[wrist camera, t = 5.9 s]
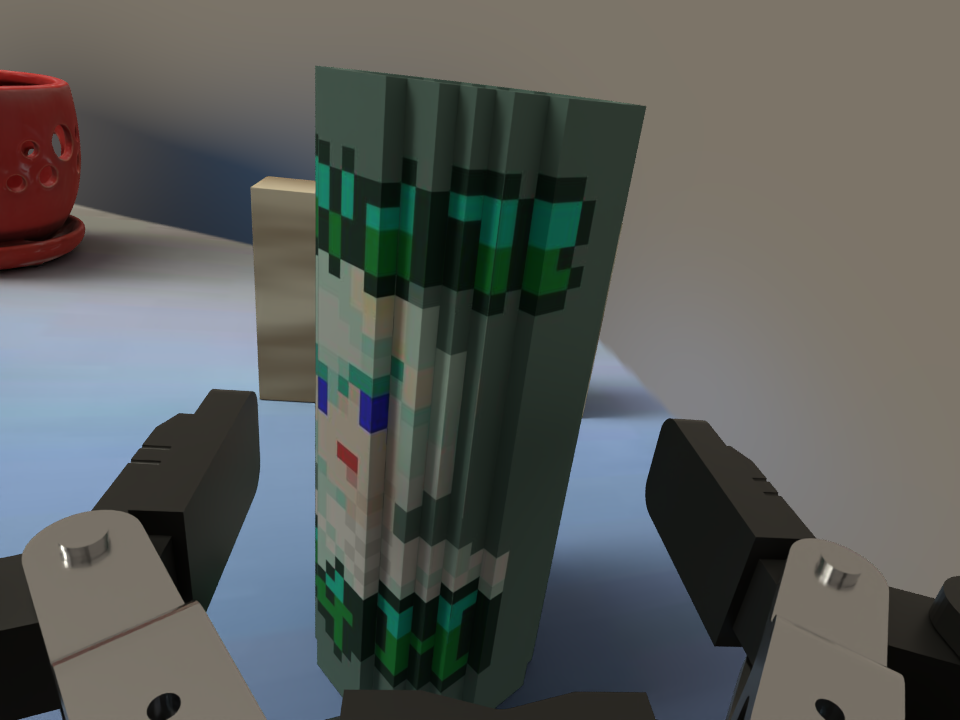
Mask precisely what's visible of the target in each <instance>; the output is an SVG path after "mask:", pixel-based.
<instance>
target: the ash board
mask: <svg viewBox="0 0 960 720" xmlns="http://www.w3.org/2000/svg"><path fill="white" fill-rule="evenodd" d="M251 206H252V226H253V227H252V229H253V252H254V276H255V299H256V322H257V346H258V369H259V393H260V399H266V400H283V401H301V402H315V181H310V180H300V179H290V178H280V177H270V176H267V177H266V178H264V179H263V180H261V181H260V182H258V183H257V184H255V185H253V186H252V187H251ZM622 224H623V223H622ZM621 229H622V226H621ZM620 234H621V231H620ZM619 239H620V235H619ZM618 243H619V240H618ZM617 248H618V245H617ZM616 253H617V250H616ZM615 258H616V255H615ZM614 263H615V260H614ZM613 267H614V264H613ZM612 272H613V269H612ZM611 277H612V274H611ZM610 281H611V279H610ZM609 287H610V284H609ZM608 291H609V289H608ZM607 297H608V293H607ZM606 301H607V298H606ZM605 306H606V303H605ZM604 311H605V308H604ZM603 316H604V313H603ZM602 321H603V318H602ZM601 326H602V322H601ZM600 330H601V327H600ZM599 335H600V332H599ZM598 340H599V337H598ZM597 345H598V342H597ZM596 350H597V347H596ZM595 355H596V351H595ZM594 359H595V356H594ZM593 364H594V361H593ZM592 369H593V366H592ZM591 374H592V371H591ZM590 379H591V376H590ZM589 384H590V380H589ZM588 388H589V385H588ZM587 393H588V390H587ZM586 398H587V395H586ZM585 403H586V400H585ZM584 408H585V404H584ZM583 413H584V409H583ZM582 417H583V414H582Z"/></svg>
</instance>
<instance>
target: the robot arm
mask: <svg viewBox="0 0 960 720" xmlns="http://www.w3.org/2000/svg"><path fill="white" fill-rule="evenodd" d="M259 473H260V448H259V426H258V404H257V397H256V394H255V392H253V391H237V390H221V389H212V390H211V391H210V392H209V393H208V395H207V396H206V398H205V399H204V401H203V402H202V403H201V405H200V406H199V408H198V409H197V411H196V412H195V414H183V413H179V414H177V415H176V416H174V417H172V418H171V419H169V420H167V421H166V422H164V423H162V424H161V425H159V426H157V427H156V428H155V429H154V430H153V432H152V433H151V434H150V436H149V437H148V438H147V439H146V441H145V442H144V443H143V445H142V448H140V449H139V450H138V451H137V452H136V454H135V455H134V456H133V458H132V459H131V463H128V464H127V465H126V467H125V468H124V469H123V470H122V472H121V473H120V474H119V476H118V477H117V478H116V480H115V481H114V482H113V483H112V485H111V486H110V487H109V489H108V490H107V491H106V492H105V494H104V495H103V496H102V498H101V499H100V500H99V501H98V503H97V504H96V505H95V507H94V508H93V509H92V510H91V511H89V512H83V513H79V514H75V515H72V516H69V517H66V518H64V519H61V520H59V521H57V522H55V523H53V524H51V525H50V526H48V527H46V528H45V529H43V530H42V531H40V532H39V533H38V534H37V535H35V536H34V537H33V538H32V539H31V540H30V542H29V543H28V544H27V545H26V547H25V549H24V551H23V554H19V555H15V556H10V557H4V558H0V720H19V719H22V718H26V717H30V716H34V715H38V714H41V713H45V712H49V711H53V710H57V709H60V713H61V716H62V720H267V719H266V717H265V716H264V714H263V712H262V710H261V709H260V707H259V705H258V703H257V702H256V700H255V698H254V696H253V695H252V693H251V691H250V689H249V688H248V686H247V684H246V682H245V680H244V679H243V677H242V675H241V673H240V672H239V670H238V668H237V666H236V665H235V663H234V661H233V659H232V658H231V656H230V654H229V652H228V651H227V649H226V647H225V645H224V644H223V642H222V640H221V638H220V636H219V635H218V633H217V631H216V629H215V628H214V626H213V624H212V622H211V621H210V619H209V617H208V615H207V614H206V611H207V609H208V606H209V604H210V602H211V599H212V597H213V594H214V592H215V590H216V587H217V585H218V582H219V580H220V578H221V575H222V573H223V570H224V568H225V566H226V563H227V561H228V558H229V556H230V554H231V551H232V549H233V546H234V544H235V542H236V539H237V537H238V534H239V532H240V530H241V527H242V525H243V522H244V520H245V518H246V515H247V513H248V510H249V508H250V506H251V503H252V501H253V498H254V496H255V493H256V490H257V486H258V481H259ZM645 498H646V506H647V510H648V513H649V515H650V517H651V519H652V521H653V523H654V525H655V527H656V529H657V531H658V533H659V535H660V537H661V539H662V541H663V543H664V545H665V547H666V549H667V551H668V553H669V555H670V557H671V559H672V561H673V563H674V565H675V567H676V569H677V572H678V574H679V576H680V578H681V580H682V582H683V584H684V586H685V588H686V590H687V592H688V594H689V596H690V598H691V600H692V602H693V604H694V606H695V608H696V610H697V612H698V614H699V616H700V618H701V620H702V622H703V624H704V626H705V628H706V630H707V632H708V634H709V636H710V638H711V640H712V642H713V644H714V646H725V647H743V649H744V651H745V652H746V654H747V655H746V657H745V660H744V662H743V665H742V667H741V670H740V673H739V676H738V680H737V683H736V686H735V689H734V693H733V696H732V699H731V703H730V706H729V709H728V713H727V716H726V719H725V720H960V576H956V577H951V578H949V579H947V580H946V581H945V582H944V584H943V586H942V588H941V590H940V591H939V593H938V595H937V597H936V598H935V599H934V598H930V597H927V596H923V595H919V594H915V593H911V592H907V591H904V590H900V589H896V588H892V587H889V586H888V584H887V581H886V579H885V578H884V576H883V574H882V573H881V572H880V571H879V570H878V569H877V568H876V567H875V566H874V565H873V564H872V563H871V562H869V561H868V560H867V559H866V558H864V557H863V556H861V555H860V554H858V553H856V552H854V551H853V550H851V549H849V548H847V547H844V546H842V545H839V544H837V543H834V542H831V541H827V540H821V539H816V538H815V536H814V535H813V534H812V533H811V532H810V530H809V529H808V528H807V527H806V526H805V524H804V523H803V522H802V521H801V520H800V518H799V517H798V516H797V515H796V514H795V512H794V511H793V510H792V509H791V508H790V506H789V505H788V504H787V503H786V501H785V500H784V499H783V498H782V497H781V496H778V492H777V491H776V489H775V488H774V487H773V486H772V484H771V483H770V482H767V481H766V477H765V476H764V475H763V474H762V473H761V471H760V470H759V469H758V468H757V466H756V465H755V464H754V463H753V462H752V461H751V460H750V459H748V458H747V457H745V456H744V455H742V454H741V453H739V452H738V451H737V450H735V449H734V448H732V447H731V446H726V445H725V443H724V442H723V441H722V440H721V438H720V437H719V436H718V434H717V433H716V432H715V431H714V430H713V428H712V427H711V426H710V424H709V423H708V422H706V421H703V420H686V419H671V418H670V419H667V420H666V421H665V422H664V423H663V425H662V427H661V430H660V434H659V438H658V441H657V445H656V449H655V452H654V456H653V460H652V464H651V467H650V471H649V475H648V478H647V482H646V490H645ZM326 720H656V719H655V716H654V714H653V711H652V708H651V705H650V702H649V699H648V696H647V693H646V692H572V693H568V694H564V695H560V696H556V697H553V698H549V699H545V700H541V701H537V702H533V703H529V704H525V705H521V706H517V707H513V708H509V709H494V708H489V707H485V706H482V705H478V704H474V703H470V702H466V701H462V700H458V699H454V698H450V697H446V696H442V695H438V694H434V693H430V692H426V691H422V690H346V689H344V693H343V700H342V707H341V714H340V716H338V717H334V718H330V719H326Z"/></svg>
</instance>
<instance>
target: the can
mask: <svg viewBox="0 0 960 720" xmlns="http://www.w3.org/2000/svg"><path fill="white" fill-rule="evenodd" d="M315 67H316V68H315V69H316V73H315V75H316V76H315V79H316V80H315V83H316V84H315V91H316V95H315V98H316V99H315V106H316V111H315V114H316V115H315V118H316V119H315V128H316V129H315V138H316V139H315V140H316V141H315V145H316V146H315V148H316V149H315V150H316V151H315V157H316V159H315V165H316V166H315V170H316V171H315V175H316V177H315V178H316V179H315V637H316V639H317V664H318V666H319V667H320V668H321V669H322V671H323V672H324V673H325V675H326V676H327V677H328V679H329V680H330V681H331V683H332V684H333V685H334V687H335V688H336V689H337V691H338V692H339V693H340V695H341V696H342V697H343V693H344V689H346V690H422V691H426V692H430V693H434V694H438V695H442V696H446V697H450V698H454V699H458V700H462V701H466V702H470V703H474V704H478V705H482V706H485V707H489V708H494V709H495V708H496V707H497V706H498V705H499V704H501V703H502V702H503V701H504V700H505V699H507V698H508V697H509V696H510V695H512V694H513V693H514V692H515V691H516V690H518V689H519V688H520V687H521V686H522V685H523V682H524V678H525V673H526V668H527V663H528V662H529V661H531V660H532V656H533V651H534V646H535V641H536V636H537V632H538V627H539V622H540V617H541V612H542V607H543V603H544V598H545V593H546V588H547V583H548V578H549V574H550V569H551V564H552V559H553V554H554V549H555V545H556V540H557V535H558V530H559V525H560V520H561V516H562V511H563V506H564V501H565V496H566V491H567V487H568V482H569V477H570V472H571V467H572V462H573V458H574V453H575V448H576V443H577V438H578V433H579V429H580V424H581V419H582V414H583V409H584V404H585V400H586V395H587V390H588V385H589V380H590V376H591V371H592V366H593V361H594V356H595V351H596V347H597V342H598V337H599V332H600V327H601V322H602V318H603V313H604V308H605V303H606V298H607V293H608V289H609V284H610V279H611V274H612V269H613V264H614V260H615V255H616V250H617V245H618V240H619V235H620V231H621V226H622V221H623V216H624V211H625V206H626V202H627V197H628V192H629V187H630V182H631V177H632V172H633V168H634V163H635V158H636V153H637V148H638V143H639V138H640V133H641V129H642V124H643V119H644V115H645V110H646V106H640V105H634V104H629V103H621V102H613V101H607V100H599V99H591V98H583V97H576V96H568V95H561V94H552V93H545V92H536V91H529V90H521V89H513V88H504V87H496V86H488V85H480V84H471V83H464V82H456V81H447V80H438V79H431V78H422V77H413V76H405V75H396V74H388V73H379V72H370V71H362V70H351V69H343V68H334V67H321V66H315Z"/></svg>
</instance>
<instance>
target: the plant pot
mask: <svg viewBox="0 0 960 720" xmlns="http://www.w3.org/2000/svg"><path fill="white" fill-rule="evenodd" d="M53 134H56V135H57V136H58V138H59V141H60V144H61V156H60V157H58V156H57V155H56V154H55V152H54V149H53V146H52V136H53ZM29 149H34V151H33V153H32V154H30V155H28V151H29ZM80 169H81V151H80V139H79V130H78V123H77V117H76V111H75V107H74V102H73V98H72V94H71V90H70V87H69V85H68V83H67V82H65V81H63V80H61V79H58V78H55V77H51V76H46V75H40V74H33V73H25V72H16V71H7V70H0V270H2V269H11V268H18V267H24V266H30V267H33V266H40V265H42V264H43V262H47V261H50V260H53V259H55V258H58V257H60V256H62V255H64V254H66V253H69V252H70V251H72V250H73V249H74V248H75V247H76V246H77V245H79V243H80V242H81V241H82V239H83V237H84V234H85V225H84V223H83V222H82V221H81V220H80V219H78V218H77V217H75V216H72V215H69V214H70V212H71V210H72V208H73V205H74V203H75V199H76V196H77V192H78V188H79V179H80Z"/></svg>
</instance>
